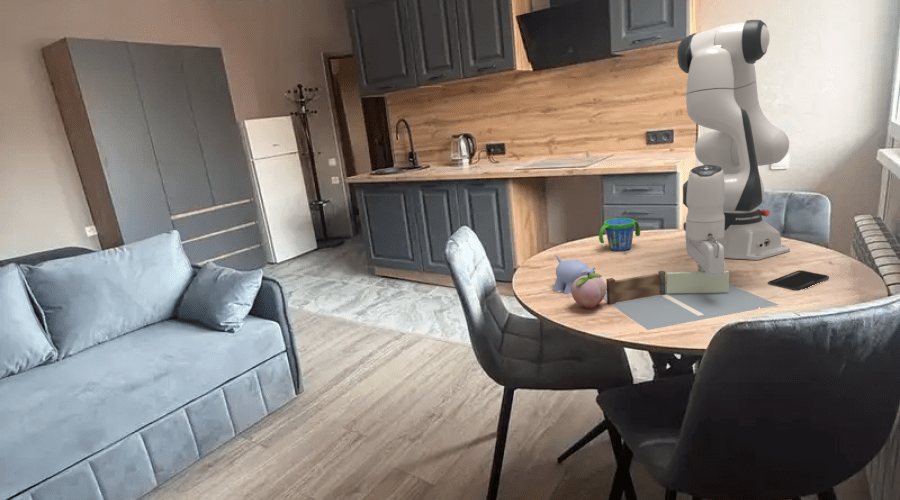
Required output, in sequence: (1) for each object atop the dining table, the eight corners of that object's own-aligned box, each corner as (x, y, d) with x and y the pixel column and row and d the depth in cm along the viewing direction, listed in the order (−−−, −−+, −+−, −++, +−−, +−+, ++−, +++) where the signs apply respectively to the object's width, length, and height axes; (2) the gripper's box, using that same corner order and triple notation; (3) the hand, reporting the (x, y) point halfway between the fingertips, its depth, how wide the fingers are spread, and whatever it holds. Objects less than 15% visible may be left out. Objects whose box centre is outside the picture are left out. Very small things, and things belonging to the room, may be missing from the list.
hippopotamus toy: (585, 301, 135) (584, 268, 132) (545, 290, 147) (543, 259, 144) (610, 290, 141) (609, 258, 138) (569, 280, 153) (568, 250, 150)
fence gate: (667, 293, 132) (667, 273, 130) (666, 291, 133) (666, 272, 132) (728, 292, 128) (729, 272, 127) (727, 290, 129) (728, 270, 128)
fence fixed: (662, 292, 134) (662, 269, 132) (666, 294, 132) (666, 270, 130) (606, 302, 131) (606, 278, 130) (610, 304, 130) (609, 280, 128)
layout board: (705, 275, 143) (705, 274, 143) (778, 306, 118) (778, 304, 118) (595, 294, 138) (595, 293, 138) (647, 331, 114) (647, 329, 113)
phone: (765, 282, 132) (799, 269, 138) (765, 286, 132) (799, 273, 138) (797, 290, 125) (831, 276, 131) (796, 294, 125) (831, 280, 131)
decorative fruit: (584, 299, 136) (582, 265, 133) (611, 305, 130) (610, 269, 127) (564, 311, 130) (562, 275, 127) (592, 318, 124) (591, 280, 121)
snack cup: (606, 255, 173) (605, 227, 170) (593, 248, 183) (592, 221, 180) (648, 248, 175) (647, 220, 172) (632, 242, 185) (632, 215, 182)
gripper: (732, 239, 117) (730, 294, 121) (706, 220, 137) (705, 267, 140) (704, 241, 119) (702, 295, 122) (681, 221, 138) (681, 268, 142)
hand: (703, 280), depth 131 cm, fingers closed
